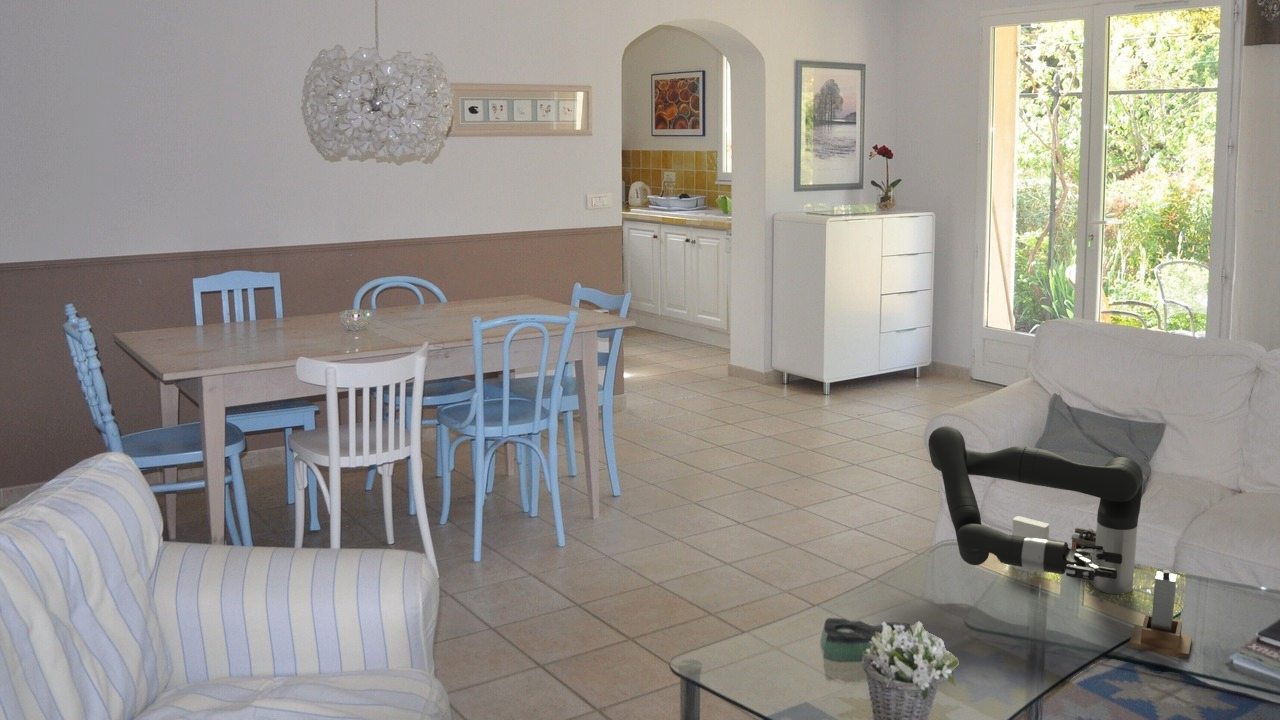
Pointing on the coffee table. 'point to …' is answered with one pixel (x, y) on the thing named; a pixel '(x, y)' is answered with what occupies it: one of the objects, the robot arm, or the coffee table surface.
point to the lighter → (1083, 537)
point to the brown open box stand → (1161, 639)
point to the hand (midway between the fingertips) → (1119, 566)
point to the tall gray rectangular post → (1163, 601)
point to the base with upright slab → (1029, 531)
